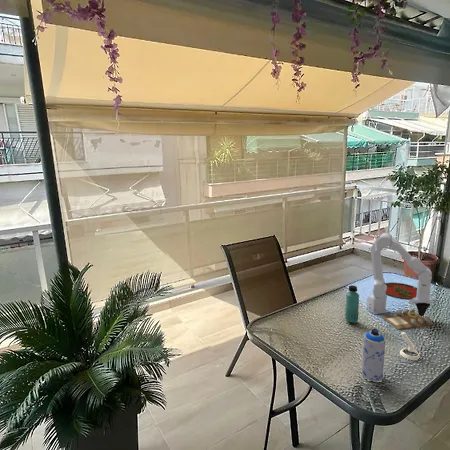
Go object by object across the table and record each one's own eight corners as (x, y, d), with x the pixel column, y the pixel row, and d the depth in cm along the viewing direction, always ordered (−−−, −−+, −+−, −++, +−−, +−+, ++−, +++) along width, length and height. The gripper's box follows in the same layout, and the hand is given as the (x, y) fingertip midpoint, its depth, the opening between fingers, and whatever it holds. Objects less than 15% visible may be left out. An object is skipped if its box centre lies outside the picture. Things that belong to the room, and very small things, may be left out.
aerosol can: (369, 367, 126) (372, 322, 122) (387, 378, 119) (391, 331, 115) (356, 373, 122) (359, 328, 118) (374, 385, 115) (377, 337, 111)
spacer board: (398, 329, 152) (399, 323, 151) (381, 317, 164) (381, 311, 164) (433, 324, 156) (433, 318, 155) (413, 313, 168) (414, 307, 167)
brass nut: (420, 320, 158) (420, 316, 158) (412, 321, 158) (413, 317, 157) (412, 315, 163) (412, 311, 163) (405, 317, 162) (405, 312, 162)
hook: (388, 335, 139) (403, 328, 137) (404, 359, 136) (419, 353, 134) (390, 340, 132) (405, 333, 130) (407, 366, 129) (423, 360, 127)
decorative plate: (409, 282, 207) (432, 298, 183) (409, 283, 208) (432, 299, 183) (372, 282, 209) (390, 298, 184) (372, 284, 209) (390, 300, 184)
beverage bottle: (350, 326, 157) (351, 289, 153) (342, 320, 163) (343, 285, 159) (360, 324, 159) (362, 288, 155) (352, 318, 165) (354, 283, 161)
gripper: (417, 295, 153) (415, 320, 156) (442, 292, 156) (439, 317, 158) (406, 290, 160) (404, 314, 163) (430, 287, 162) (428, 310, 165)
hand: (421, 315), depth 161 cm, fingers closed
